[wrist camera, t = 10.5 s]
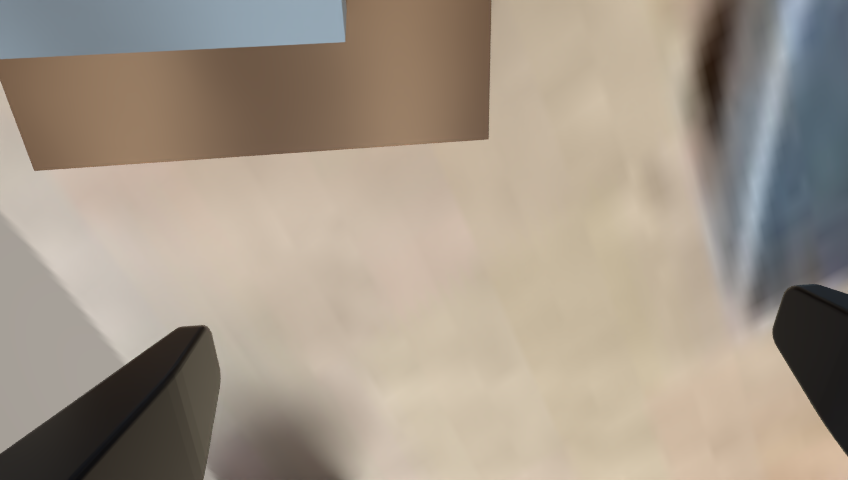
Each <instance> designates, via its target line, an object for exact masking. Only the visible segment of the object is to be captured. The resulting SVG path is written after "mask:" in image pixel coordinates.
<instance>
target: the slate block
mask: <svg viewBox="0 0 848 480" xmlns="http://www.w3.org/2000/svg"><path fill="white" fill-rule="evenodd" d="M346 13H347V8H346V0H0V59H15V58H35V57H55V56H75V55H95V54H116V53H136V52H156V51H176V50H196V49H217V48H237V47H257V46H277V45H297V44H318V43H338V42H345V38H346Z"/></svg>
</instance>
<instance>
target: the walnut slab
mask: <svg viewBox="0 0 848 480" xmlns="http://www.w3.org/2000/svg"><path fill="white" fill-rule="evenodd" d="M346 8H347V13H346V38H345V42H338V43H318V44H297V45H277V46H257V47H237V48H217V49H196V50H176V51H156V52H136V53H116V54H95V55H75V56H55V57H35V58H15V59H0V81H1V83H2V86H3V89H4V91H5V94H6V97H7V99H8V102H9V105H10V107H11V110H12V113H13V115H14V118H15V121H16V123H17V126H18V129H19V131H20V134H21V137H22V139H23V142H24V145H25V147H26V150H27V153H28V155H29V158H30V161H31V163H32V166H33V169H34V171H39V170H53V169H68V168H82V167H96V166H111V165H125V164H140V163H154V162H168V161H183V160H197V159H212V158H226V157H240V156H255V155H269V154H283V153H298V152H312V151H327V150H341V149H355V148H370V147H384V146H399V145H413V144H427V143H442V142H456V141H471V140H485V139H488V137H489V87H490V38H491V0H346Z"/></svg>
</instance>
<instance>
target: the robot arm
mask: <svg viewBox="0 0 848 480" xmlns="http://www.w3.org/2000/svg"><path fill="white" fill-rule="evenodd" d="M773 339H774V342H775V344H776V346H777V348H778V349H779V351H780V353H781V354H782V356H783V358H784V359H785V361H786V363H787V364H788V366H789V368H790V369H791V371H792V372H793V374H794V376H795V377H796V379H797V381H798V382H799V384H800V386H801V387H802V389H803V391H804V392H805V394H806V396H807V397H808V399H809V400H810V402H811V404H812V405H813V407H814V409H815V410H816V412H817V414H818V415H819V417H820V418H821V420H822V421H823V423H824V424H825V426H826V427H827V429H828V430H829V432H830V433H831V434H832V436H833V437H834V439H835V440H836V441H837V443H838V444H839V445H840V447H841V448H842V449H843V451H844V452H845V454H846V455H847V456H848V294H846V293H843V292H840V291H836V290H833V289H830V288H827V287H824V286H821V285H816V284H809V285H796V286H791V287H789V288H788V289H787V290H786V291H785V292H784V295H783V297H782V301H781V304H780V307H779V310H778V313H777V316H776V319H775V322H774V326H773ZM220 379H221V378H220V367H219V363H218V359H217V354H216V350H215V346H214V341H213V337H212V333H211V331H210V329H209V328H208V327H207V326H205V325H199V326H183V327H179V328H177V329H175V330H174V331H172V332H171V333H170V334H168V335H167V336H165V337H164V338H163V339H161V340H160V341H158V342H157V343H155V344H154V345H153V346H151V347H150V348H148V349H147V350H146V351H144V352H143V353H141V354H140V355H139V356H137V357H136V358H134V359H133V360H132V361H130V362H129V363H127V364H126V365H125V366H123V367H122V368H120V369H119V370H118V371H116V372H115V373H113V374H112V375H111V376H109V377H108V378H106V379H105V380H103V381H102V382H101V383H99V384H98V385H96V386H95V387H94V388H92V389H91V390H89V391H88V392H87V393H85V394H84V395H83V396H81V397H80V398H78V399H77V400H75V401H74V402H73V403H71V404H70V405H69V406H67V407H65V408H64V409H63V410H61V411H60V412H58V413H57V414H56V415H54V416H53V417H51V418H50V419H49V420H47V421H46V422H44V423H43V424H42V425H40V426H39V427H37V428H36V429H35V430H33V431H32V432H30V433H29V434H27V435H26V436H25V437H23V438H22V439H20V440H19V441H18V442H16V443H15V444H14V445H12V446H11V447H9V448H8V449H7V450H5V451H4V452H2V453H1V454H0V480H203V478H204V474H205V469H206V464H207V458H208V452H209V446H210V441H211V435H212V429H213V423H214V417H215V412H216V406H217V400H218V394H219V389H220Z"/></svg>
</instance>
